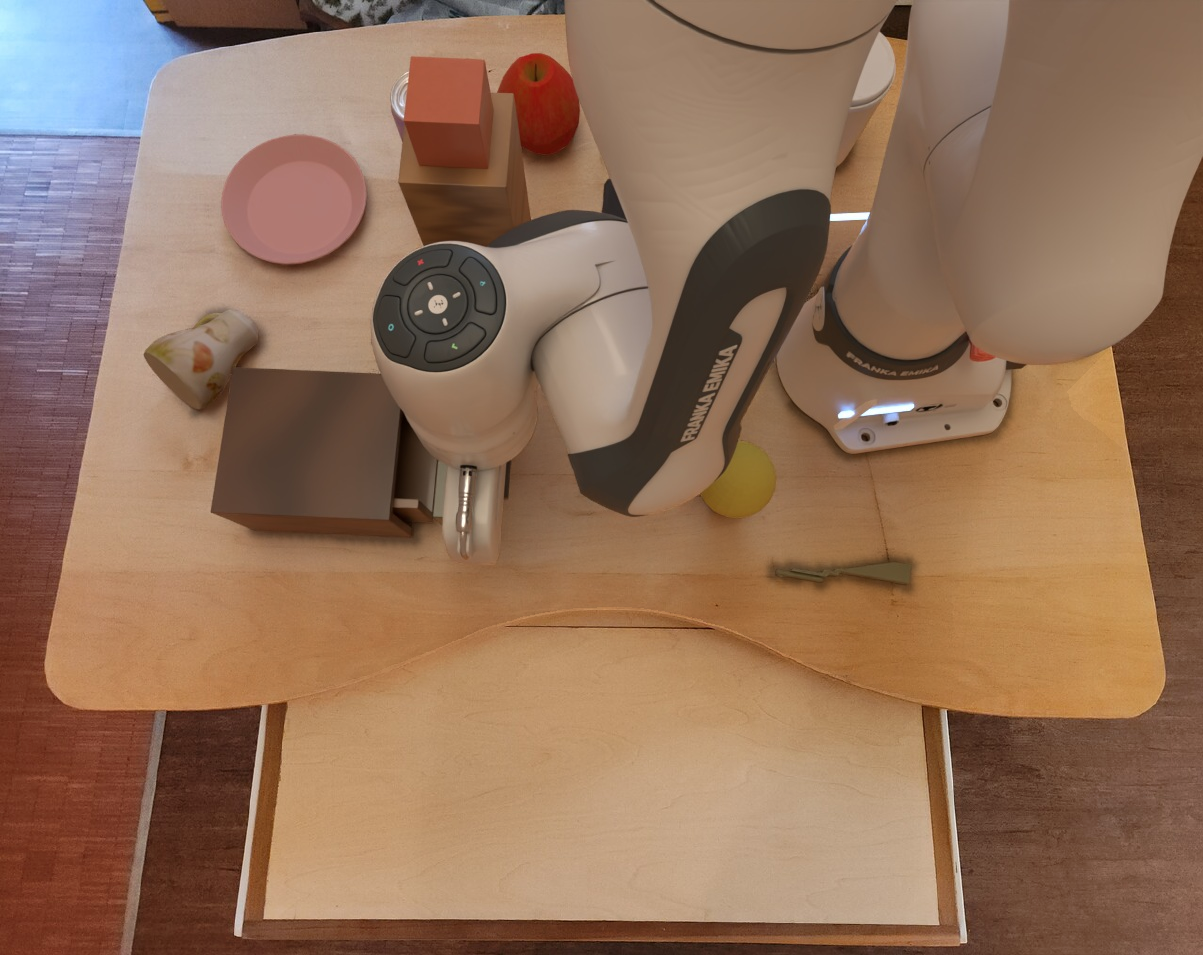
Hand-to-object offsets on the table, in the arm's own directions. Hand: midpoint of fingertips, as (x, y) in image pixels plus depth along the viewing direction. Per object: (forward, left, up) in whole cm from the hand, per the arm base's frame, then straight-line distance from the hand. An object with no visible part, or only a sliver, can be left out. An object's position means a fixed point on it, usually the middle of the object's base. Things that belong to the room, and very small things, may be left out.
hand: (491, 456), depth 71 cm
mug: (+28, -10, -7) cm, 30 cm away
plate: (+22, -27, -7) cm, 35 cm away
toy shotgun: (-32, +8, -7) cm, 34 cm away
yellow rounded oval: (-21, +1, -7) cm, 22 cm away
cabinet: (+15, 0, -7) cm, 16 cm away
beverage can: (+7, -29, -7) cm, 31 cm away
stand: (+1, -16, -7) cm, 17 cm away
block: (+1, -16, +21) cm, 26 cm away
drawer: (+7, 0, -6) cm, 10 cm away
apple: (-2, -36, -7) cm, 37 cm away
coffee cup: (-30, -37, -7) cm, 48 cm away
